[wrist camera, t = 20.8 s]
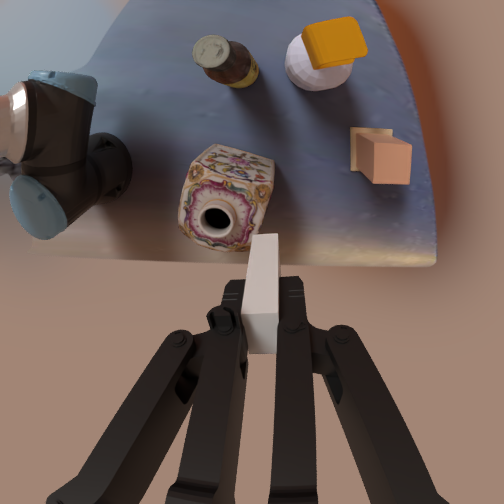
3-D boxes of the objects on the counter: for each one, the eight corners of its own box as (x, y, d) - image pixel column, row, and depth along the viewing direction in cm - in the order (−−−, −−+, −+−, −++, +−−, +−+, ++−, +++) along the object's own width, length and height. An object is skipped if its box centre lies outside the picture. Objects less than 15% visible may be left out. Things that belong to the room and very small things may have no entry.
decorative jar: (199, 199, 52) (166, 247, 37) (212, 141, 46) (179, 167, 30) (258, 216, 53) (249, 271, 37) (277, 160, 46) (276, 194, 31)
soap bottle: (344, 85, 38) (406, 78, 17) (294, 96, 40) (311, 93, 19) (328, 39, 33) (374, -8, 13) (277, 49, 36) (276, 3, 15)
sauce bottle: (267, 74, 38) (259, 56, 21) (238, 95, 41) (211, 93, 24) (242, 47, 36) (218, 16, 19) (213, 69, 38) (172, 53, 21)
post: (350, 169, 46) (361, 182, 40) (350, 127, 42) (361, 132, 35) (389, 170, 45) (405, 182, 39) (391, 129, 41) (408, 135, 34)
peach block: (355, 166, 45) (373, 183, 36) (355, 133, 41) (374, 142, 33) (386, 167, 44) (409, 184, 35) (387, 134, 41) (411, 145, 32)
